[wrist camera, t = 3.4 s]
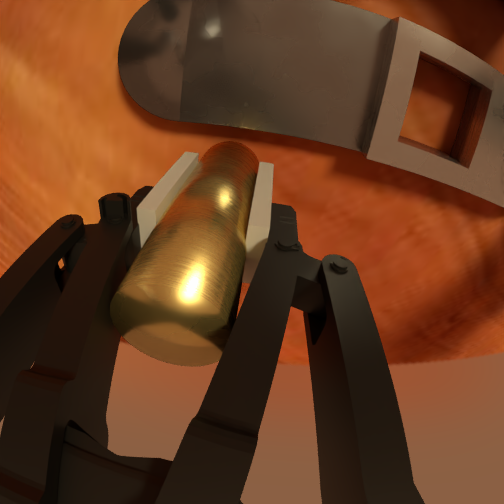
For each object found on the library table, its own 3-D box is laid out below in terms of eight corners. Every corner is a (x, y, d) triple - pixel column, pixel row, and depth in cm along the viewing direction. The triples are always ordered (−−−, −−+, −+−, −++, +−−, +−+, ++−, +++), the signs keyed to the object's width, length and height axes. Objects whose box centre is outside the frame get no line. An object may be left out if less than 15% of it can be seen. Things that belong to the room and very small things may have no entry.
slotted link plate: (125, 114, 15) (105, 123, 13) (135, -6, 11) (115, -12, 9) (525, 210, 16) (540, 225, 14) (554, 128, 11) (573, 139, 9)
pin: (199, 191, 18) (122, 351, 9) (203, 138, 16) (97, 272, 7) (255, 200, 18) (227, 374, 9) (264, 146, 16) (239, 299, 7)
